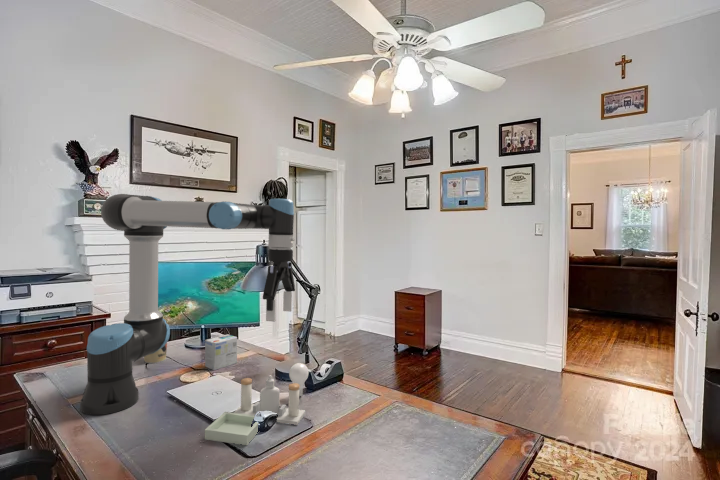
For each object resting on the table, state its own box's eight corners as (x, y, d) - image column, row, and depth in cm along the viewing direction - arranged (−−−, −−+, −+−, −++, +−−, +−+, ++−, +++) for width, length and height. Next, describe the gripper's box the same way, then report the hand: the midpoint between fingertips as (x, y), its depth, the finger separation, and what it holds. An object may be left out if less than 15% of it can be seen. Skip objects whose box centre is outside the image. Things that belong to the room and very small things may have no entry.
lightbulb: (304, 401, 125) (305, 368, 125) (285, 399, 126) (286, 366, 126) (310, 393, 131) (311, 361, 131) (292, 391, 132) (293, 359, 132)
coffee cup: (160, 364, 153) (160, 334, 153) (137, 363, 153) (137, 333, 153) (172, 356, 162) (172, 327, 162) (150, 355, 163) (150, 327, 162)
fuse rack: (232, 416, 114) (233, 383, 114) (243, 405, 121) (244, 374, 121) (297, 425, 110) (298, 391, 110) (305, 413, 117) (306, 381, 117)
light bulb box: (227, 359, 161) (227, 333, 160) (237, 363, 157) (238, 336, 157) (204, 366, 152) (204, 339, 152) (214, 370, 148) (214, 342, 148)
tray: (204, 439, 102) (204, 429, 102) (224, 420, 112) (225, 411, 112) (247, 445, 100) (247, 435, 100) (263, 425, 110) (264, 416, 110)
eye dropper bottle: (263, 410, 118) (264, 371, 118) (281, 412, 117) (282, 373, 117) (257, 417, 114) (258, 377, 114) (275, 420, 113) (276, 379, 113)
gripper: (276, 251, 109) (275, 326, 110) (305, 246, 133) (303, 308, 134) (251, 250, 110) (250, 324, 111) (284, 245, 135) (283, 306, 135)
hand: (279, 315), depth 123 cm, fingers open, 13 cm apart
